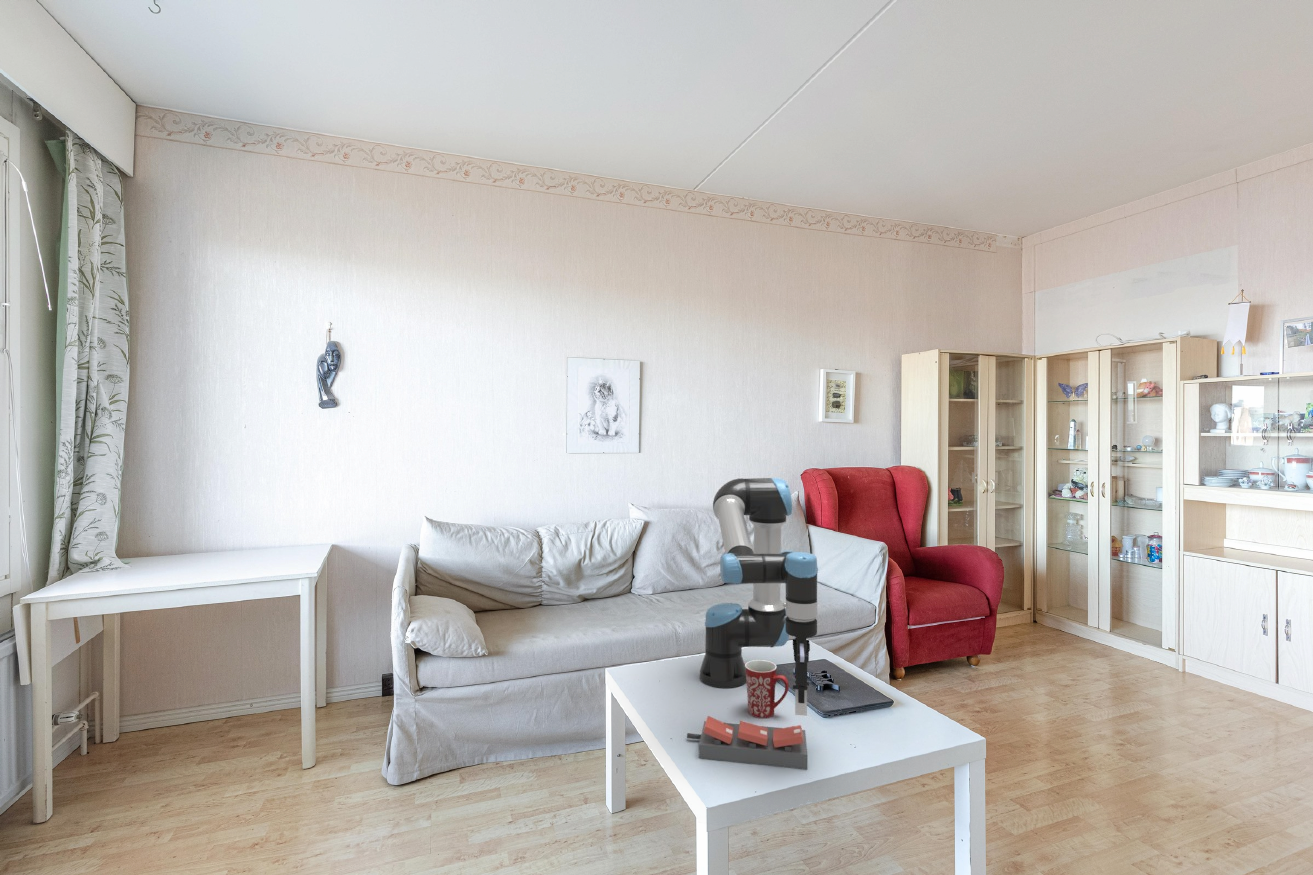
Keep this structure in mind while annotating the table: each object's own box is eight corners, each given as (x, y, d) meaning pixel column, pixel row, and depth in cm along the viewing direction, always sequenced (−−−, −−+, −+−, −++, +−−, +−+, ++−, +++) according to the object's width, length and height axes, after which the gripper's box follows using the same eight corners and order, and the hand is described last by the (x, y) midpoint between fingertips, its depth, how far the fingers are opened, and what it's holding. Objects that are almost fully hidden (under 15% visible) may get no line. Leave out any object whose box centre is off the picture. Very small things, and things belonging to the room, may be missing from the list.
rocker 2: (774, 735, 156) (773, 729, 156) (802, 731, 155) (800, 724, 155) (774, 747, 150) (772, 740, 151) (803, 742, 149) (801, 735, 149)
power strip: (689, 732, 166) (689, 715, 166) (805, 743, 160) (805, 725, 160) (682, 756, 154) (682, 738, 154) (807, 769, 148) (807, 750, 148)
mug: (739, 714, 176) (739, 667, 176) (753, 702, 184) (753, 656, 183) (780, 726, 169) (781, 677, 169) (793, 713, 177) (794, 666, 176)
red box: (738, 726, 158) (740, 720, 158) (766, 734, 156) (767, 727, 156) (737, 737, 152) (738, 731, 152) (766, 745, 151) (767, 739, 151)
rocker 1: (705, 721, 159) (707, 715, 159) (731, 732, 158) (733, 726, 158) (703, 732, 154) (705, 725, 154) (729, 744, 153) (732, 738, 152)
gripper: (785, 608, 158) (784, 700, 159) (785, 624, 145) (785, 725, 146) (815, 610, 157) (815, 703, 157) (818, 626, 144) (818, 727, 144)
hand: (800, 713), depth 152 cm, fingers closed
